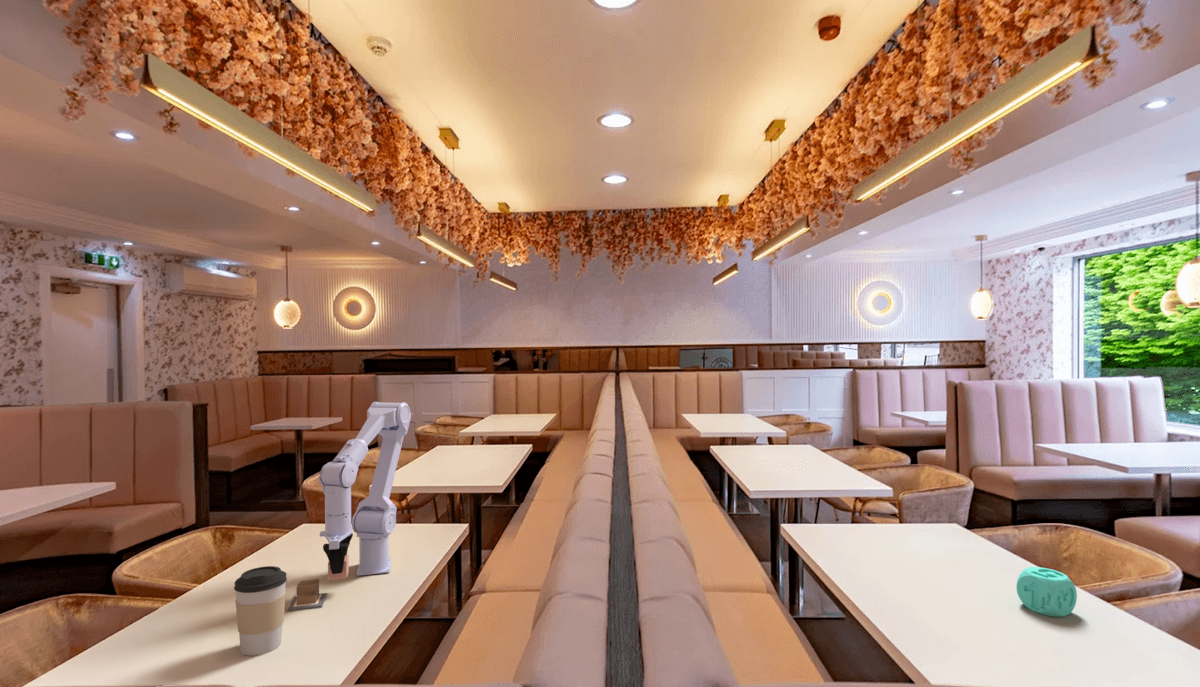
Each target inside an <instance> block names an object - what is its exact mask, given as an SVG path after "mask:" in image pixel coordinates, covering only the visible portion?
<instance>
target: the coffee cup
mask: <svg viewBox="0 0 1200 687" xmlns="http://www.w3.org/2000/svg"><path fill="white" fill-rule="evenodd" d="M287 580H288V577H287V573H286V572H285V571H283V570H282V569H281V568H280V567H279V566H275V565H274V566H272V565H270V566H269V565H267V566H259V567H254V568H252V569H248V570H246V571H244V572H243V573H241V575H240V576H239V577H238V578H236V579H235V581H234V582H233V583H234V586H233V589H234V591H235V601H234V602H235V613H236V623H237V624H236V625H237V632H238V635H239V645H240V646H239V647H240V653H241V654H242V655H243V656H253V657H254V656H260V655H264V654H267V653H271V652H272V651H275V650H277V648H279V647H280V646H281V645H282V644H281V643H282V637H283V636H282V635H283V634H282V633H283V624H284V620H285V605H286V604H285V603H286V593H287V591H286V583H287Z"/></svg>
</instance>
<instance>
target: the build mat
mask: <svg viewBox="0 0 1200 687" xmlns="http://www.w3.org/2000/svg"><path fill="white" fill-rule="evenodd" d="M327 594H328V593H327V592H324V593H323V592H322V593H319V597H318V600H317V602H316V603H312V604H303V605H297V595H295V596H293V597H292V600H291V601H290V602H289V605H288V608H287V609H286V610H287V612H293V611H301V610H308V609H310V610H311V609H319V608H322V607H323V604H324V602H325V600H326V598H327Z"/></svg>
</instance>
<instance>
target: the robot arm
mask: <svg viewBox="0 0 1200 687" xmlns="http://www.w3.org/2000/svg"><path fill="white" fill-rule="evenodd" d="M366 417H367V418H366V421H365V422H364V424H363V425H362V427H361V428H360V430H359V432H358V434H357V435H356V436H355V438H352V439H348V440H347V441H346V443H345V444H344V446H343V447H342V448H341V449H340V451H339V452H338V453H337V455H336V456H335V457H334V459H333V460H332V461H329V462H327V463H325V464H324V465H323V466H322V468H321V470H320V472H319V476H318V481H319V484H320V485H321V488H322V490H321V491H322V494H324V526H325V527H324V530H322V531H320V532H319V537H324V538H325V539H326V540H327V542H328V543H324V544H323V546H322V550H323V552H324V553H325V555H326V557H327V558H328V562H329V563H330V568H331V571H332V574H338V573H342V570H343V566H344V559H345V555H348V550H349V546H350V544H351V540H352V538H353V536H354V533H355V534H356V538H358V539H359V540H358V542H359V544H358V545H359V551H358V552H359V554H358V556H359V561H358V562H359V564H358V568H357V571H356V576H357V577H359V576H367V575H379V574H380V575H381V574H387V573H390V570H391V564H392V558H389V557H390V555H389V553H390V552H389V550H390V549H389V546H390V544H389V540H390V535H391V534H392V533H393V531H394V529H395V528H396V524H397V510H398V508H397V506H396V505H395V504H394V503H393V501H392V500H391V499H390V497H391V492H392V489H393V485H394V484H393V483H394V479H395V475H396V471H397V467H398V462H399V459H400V454H401V451H402V447H403V446H402V445H403V442H404V437H405V436H406V435H407V434H408V431H409V428H410V422H411V418H412V413H411V408H410V406H409V405H408V403H407V402H379V401H373V402H372V403H371V404H370V405H369V408H368V409H367V410H366ZM377 435H380V436H381V437H382V442H381V447H380V451H379V454H378V457H377V458H378V459H377V461H376V466H375V469H374V474H373V478H372V482H371V486H370V490H369V494H368V496H367V497H365V498H364V499H362V500H361V501H360V502H358V505H357V508H356V510H355V513H354V514H353V516H352V486H353V484H354V483H355V482H356V480H357V479H356V478H357V474H358V471H359V466H360V465H361V463H362V462H363V461H364V459H365V458H366V456H367V455H368V454H369V448H368V446H369V444H370V443H371V442H372V441H373V440H374V439H375V438H376V437H377Z"/></svg>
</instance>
